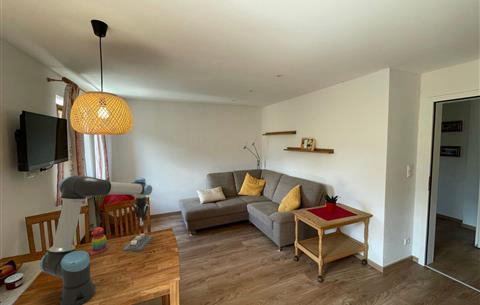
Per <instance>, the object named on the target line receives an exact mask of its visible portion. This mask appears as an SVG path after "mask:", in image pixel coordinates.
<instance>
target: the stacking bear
mask: <svg viewBox="0 0 480 305" xmlns="http://www.w3.org/2000/svg"><path fill="white" fill-rule="evenodd" d="M91 236H92V239H91V242H90V243H91V244H90V245H91V251H90V252H89V256H95V255H99V254H102V253H104V252H105V251H107V249H108V248H107V236H106V235H105V234H104V228H103V227H100V226H97V227H95V228H94V230H93V231H92V232H91Z"/></svg>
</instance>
